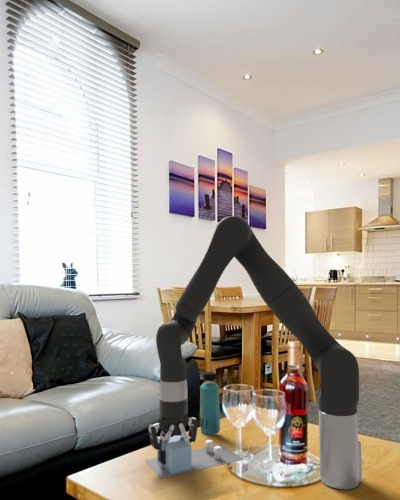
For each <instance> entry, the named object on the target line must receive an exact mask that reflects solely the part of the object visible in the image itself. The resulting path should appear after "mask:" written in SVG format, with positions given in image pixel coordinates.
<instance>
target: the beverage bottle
mask: <svg viewBox="0 0 400 500" xmlns="http://www.w3.org/2000/svg"><path fill="white" fill-rule="evenodd" d="M202 376H203V377H202V380H203V381H205V382H203V383H202V384H201V385H200V386H199V389H200V390H199V393H200V395H199V396H200V397H199V406H200V407H199V408H200V409H199V410H200V411H199V413H200V416H199V417H200V418H199V426H200V432H201V433H202V434H204V435H216V434H218V433H220V430H221V417H220V416H221V415H220V386H219V385H218V384H217V382H213V381H216V380H217V377H216V373H215V372H213V371H206V372H203V375H202Z"/></svg>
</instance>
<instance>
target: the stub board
mask: <svg viewBox="0 0 400 500" xmlns="http://www.w3.org/2000/svg"><path fill="white" fill-rule="evenodd" d="M213 443H214V441H213V440H212V439H206V440H205V447H201V448H197V449H191V468H192V470H187V471H183V472H179V473H174V474H171V473H170V472H169V471H168V470H167V469H166V468H165V467H164V466H163V465H162V464H161V463H160V462H159V461H158V460H157V457H154V458H149V459H145V460H144V462H145V463H146V464H147V465H148V466H149V467H150V468H151V469H152V470H153V471H154V473H155V474H156V475H157V476H158V477H159V478H160V479H161V480H162V479H166V478H167V479H168V478H170V477H175V476H179V475H184V474H189V473H191V472H196V471H199V470H200V471H201V470H203V469H204V470H205V469H208V468H212V467H218V466H221V465H226V464H229V463H234V462H239V461H243V460H244V458H242V457H241V456H240V455H238V454H237V453H236V452H234V451H233V450H231V449H229V448H228V447H227V446H225V445H224V444H222V443H220V444H216V445H215V444H213Z"/></svg>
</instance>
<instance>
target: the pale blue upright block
mask: <svg viewBox="0 0 400 500" xmlns="http://www.w3.org/2000/svg"><path fill="white" fill-rule="evenodd" d="M165 436H166V435H165ZM157 439H158V442H159V440H160V435H159V436H158V435H157ZM191 450H192V445H191V443H190V444H189V443H187V442H186V441H184V440H183V439H182V438H180V436H173V437H170V439H169V442H167V444H166V448H165V454H166V464H165V465H163V466H164V467H165V468H166V469H167V470H168V471H169V472H170V473H171V474H174V473H179V472H183V471H187V470H192V468H191ZM156 458H157V460H158V449H156ZM158 461H159V460H158ZM159 462H160V461H159Z"/></svg>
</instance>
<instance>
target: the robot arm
mask: <svg viewBox="0 0 400 500" xmlns="http://www.w3.org/2000/svg"><path fill="white" fill-rule="evenodd" d="M210 240H211V241H210V243H209V246H208V248H207V251H206V253H205V255H204V256H203V258H202V261H201V263H200V264H199V266H198V268H197V269H196V271H195V272H194V274H193V275H192V277H191V279H190V280H189V282H188V283H187V285H186V287H185V289H183V291H182V293H181V295H180V297H179V298H178V300H177V301H176V305H175V312H174V314H173V316H172V318H171V319H170V320H169V321H168V322H163V324H161V325H160V326H159V327H158V329H157V331H156V336H155V340H156V341H155V342H156V343H155V344H156V349H157V350H156V351H157V355H158V359H159V363H160V368H159V370H160V371H159V373H160V374H159V375H160V376H159V377H160V379H159V393H158V397H159V399H158V400H159V403H158V404H159V405H158V406H159V419H158V421H157V423H154V424H152V423H149V424H148V425H147V429H148V434H149V441H150V446H151V447H152V448H153V449H154V450H157V449H158V460H159V461H160V463H161V464H162V465H165V464H166V454H165V448H166V444H167V442H169V439H170V437H173V436H180V438H182V439H183V440H184V441H186V442H187V443H189V444H190V445H191V444H192V443H195V442H196V440H197V434H198V425H199V419H197V418H196V417H194V416H191V417H189V416H188V410H189V408H188V407H189V406H188V401H189V400H188V381H187V361H186V359H185V358H184V357H183V356H182V355H183V354H182V346H183V345H184V344H185V343H186V342H187V341H188V340H189V339H190V337H191V335H192V332H193V331H194V329H195V326H196V324H197V321H198V319H199V317H200V316H201V314H202V312H203V311H204V309H205V307H206V306H207V304H208V303H209V300H210V299H211V297H212V295H213V293H214V291H215V289H216V287H217V284H218V283H219V281H220V278H221V277H222V276H223V274H224V272H225V270H226V268H227V267H228V266H229V264H230V262H231V261H232V260H233V259H234V258H235V259H236V260H237V262H238V263H239V264H240V265H241V266H242V267H243V268H244V270H245V271H246V273H247V275H248V276H249V278H250V280H251V282H252V284H253V286H254V287H255V289H256V291H257V292H258V294H259V296H260V297H261V299H262V301H263V302H264V303H265V304H266V306H267V307H268V309H270V311H271V312H272V314H273V315H274V316H275V318H277V319H278V320H279V322H280V323H281V324H282V325H283V326H284V327H285V328H286V329H287V331H289V332H290V333H291V334H292V335H293V336H295V338H296V339H297V340H298V341H299V343H301V345H302V346H303V348H304V350H305V351H306V353H307V354H308V356H309V357H310V359H311V360H312V363H313V364H314V366H315V367H316V369H317V371H318V372H319V374H320V394H319V397H318V435H319V436H318V438H319V439H318V440H319V473H320V476H319V477H320V481H321V482H322V484H324V485H325V486H327V487H330V488H333V489H338V490H352V489H355V488H358V486H359V485H360V483H362V482H363V470H362V469H363V467H362V466H363V465H362V463H363V462H362V443H361V441H359V436H358V435H359V431H358V404H359V401H360V369H359V368H360V367H359V363H358V359H357V358H356V355H354V354H353V353H352V352H351V351H350V350H348V349H347V348H345V347H344V346H342V345H341V343H339V341H337V340H336V339H335V338H334V337H333V336H332V335H331V333H330V332H329V331H328V330H327V328H325V326H323V324H322V323H321V321H320V319H319V318H318V316H317V314H316V313H315V310H314V309H313V307H312V305H311V303H310V302H309V300H308V299H307V297H306V295H305V294H304V293H303V292H302V290H301V289H300V288H299V286H298V285H297V284H296V283H295V281H294V280H293V279H292V278H291V276H289V274H288V273H287V272H286V271H285V270H284V268H282V267H281V265H279V263H277V262H276V261H275V260H274V259H273V258H272V257H271V256H270V255H269V253H268V252H267V251H266V250H265V248H264V247H263V246H262V243H260V241H259V240H258V238H257V237H256V235H255V233H254V231H253V230H252V228H251V226H250V224H249V223H248V222H247V221H246V220H245V219H243V218H242V217H240V216H237V215H235V216H234V215H229V216H226V217H224V218H222V219H221V220H220V221H219V222H218V223H217V224H216V226H215V230H214V233H213V235H212V238H211V239H210ZM187 426H188V428H189V429H188V434H187V431H186V428H187ZM159 429H160V430H161V432H160V434H159V436H160V440H159V442H158V439H157V437H158V435H157V434H158V432H159ZM165 435H166V436H165Z"/></svg>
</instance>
